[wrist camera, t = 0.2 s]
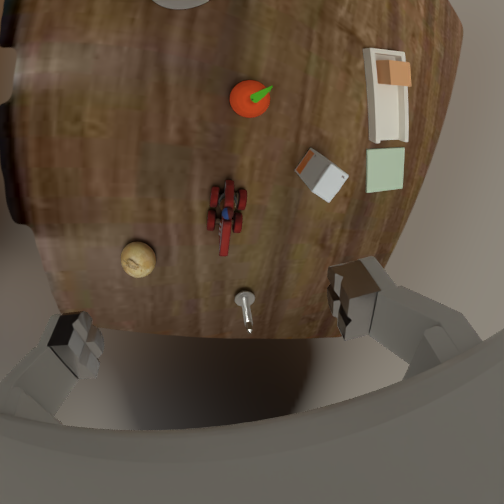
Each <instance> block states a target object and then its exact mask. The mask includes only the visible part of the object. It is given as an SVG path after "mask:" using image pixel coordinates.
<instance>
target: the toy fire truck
mask: <svg viewBox="0 0 504 504" xmlns="http://www.w3.org/2000/svg"><path fill="white" fill-rule="evenodd" d="M246 202H247V191H246V190H243V189H240V190H238V193H234V181H232V180H226V182H225V190H224V193H223V194H222V195H219V187H212V190H211V199H210V207H215V208H216V207H217V206H218V204H219V206H220V209H221V211H222V214H221V219H216V218H215V217H216V211H213V210H209V211H208V219H207V230H210V231H213V230H214V228H215V223H217V224H220V226H219V256H227V255H228V249H229V241H230V233H231V225H233V227H232V229H233V232H234V233H240V232H241V229H242V214H241V213H234V212H233V211H234V210H235V208H236V207H237V209H238V210H244V209H245V207H246ZM233 215H234V216H233ZM232 217H233V220H232Z"/></svg>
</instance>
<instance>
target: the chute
mask: <svg viewBox="0 0 504 504" xmlns="http://www.w3.org/2000/svg"><path fill="white" fill-rule="evenodd" d="M363 56H364V65H365V75H366V87H367V101H368V121H369V140H370V141H372V142H374V143H380V140H401V141H403V142H408V130H409V120H408V87H407V86H399V85H388V84H378V80H377V69H376V60H394V61H402V62H406V60H405V52H399V51H392V50H385V49H376V48H366V49H363Z"/></svg>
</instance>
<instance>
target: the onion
mask: <svg viewBox="0 0 504 504" xmlns="http://www.w3.org/2000/svg"><path fill="white" fill-rule="evenodd" d="M121 264H122V267H123V269H124V270H125V272H126V273H127V274H129V275H131V276H132V277H136V278H140V277H145V276H147V275H148V274H150V273H151V272H152V271H153V269H154V267H155V264H156V257H155V253H154V251H153V250H152V249H151V247H149V246H148V245H147V244H144V243H142V242H132V243H130V244H128V245H127V246H126V247H125V248H124V249H123V251H122V253H121Z"/></svg>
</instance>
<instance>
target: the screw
mask: <svg viewBox="0 0 504 504" xmlns="http://www.w3.org/2000/svg"><path fill="white" fill-rule="evenodd" d="M254 300H255V297H254V294H253V293H251V292H249V291H247V290H241V291H240V292H239V293H238V294H237V295H236V296H235V302H236V304H237V305H239V306H242V310H243V317H244V323H245V325H246V328H247V332H248V333H251V331H252V325H253V324H252V316H251V310H250V305H251V304H252V303H253V302H254Z"/></svg>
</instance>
